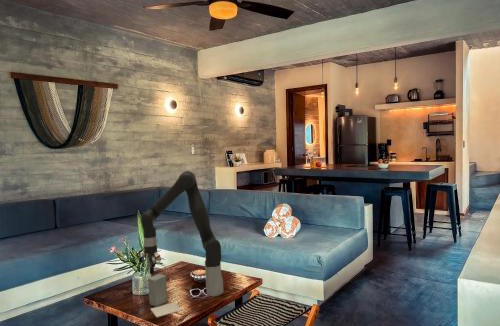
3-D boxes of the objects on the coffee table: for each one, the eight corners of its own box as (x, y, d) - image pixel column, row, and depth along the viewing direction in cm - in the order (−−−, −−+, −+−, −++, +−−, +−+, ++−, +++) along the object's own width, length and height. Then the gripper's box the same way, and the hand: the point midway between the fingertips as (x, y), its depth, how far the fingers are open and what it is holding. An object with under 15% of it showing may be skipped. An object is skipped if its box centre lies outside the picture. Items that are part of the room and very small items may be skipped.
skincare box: (160, 299, 222) (159, 272, 221) (168, 302, 218) (166, 275, 217) (148, 304, 216) (146, 277, 215) (156, 307, 211) (154, 279, 210)
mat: (175, 302, 216) (175, 302, 216) (182, 310, 206) (182, 309, 206) (150, 309, 209) (150, 308, 209) (156, 317, 199) (156, 316, 199)
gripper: (160, 245, 220) (161, 275, 220) (153, 241, 231) (155, 269, 232) (146, 247, 216) (148, 278, 217) (141, 243, 227) (142, 271, 228)
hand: (151, 273), depth 224 cm, fingers closed
